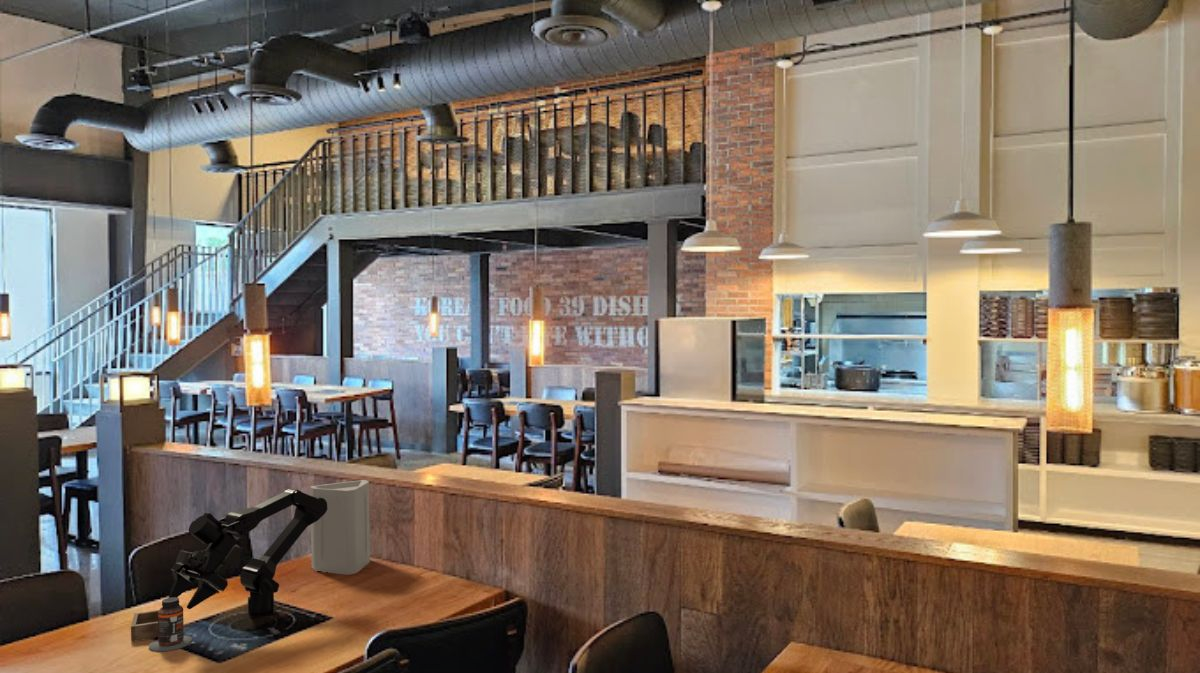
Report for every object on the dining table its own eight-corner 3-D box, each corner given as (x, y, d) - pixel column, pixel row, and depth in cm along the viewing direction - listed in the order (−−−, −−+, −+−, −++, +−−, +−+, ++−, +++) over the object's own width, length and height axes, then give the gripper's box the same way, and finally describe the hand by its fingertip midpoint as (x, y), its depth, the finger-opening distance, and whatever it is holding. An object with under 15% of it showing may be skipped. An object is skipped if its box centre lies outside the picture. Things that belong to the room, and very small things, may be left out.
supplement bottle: (181, 645, 214) (180, 602, 214) (155, 648, 213) (154, 604, 213) (186, 636, 220) (185, 594, 220) (161, 639, 219) (160, 597, 218)
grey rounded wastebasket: (322, 579, 269) (321, 493, 269) (311, 567, 282) (309, 486, 281) (380, 568, 280) (378, 486, 279) (366, 558, 292) (365, 479, 291)
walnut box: (179, 621, 233) (179, 607, 233) (177, 634, 223) (177, 619, 223) (134, 627, 228) (134, 613, 228) (131, 641, 218) (130, 626, 218)
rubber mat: (192, 634, 223) (192, 632, 223) (191, 647, 214) (191, 646, 214) (150, 640, 219) (150, 639, 219) (147, 654, 210) (147, 653, 210)
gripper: (176, 532, 227) (137, 583, 218) (215, 542, 217) (175, 596, 208) (205, 553, 234) (167, 604, 225) (244, 564, 224) (206, 617, 215)
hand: (178, 605), depth 218 cm, fingers open, 9 cm apart
